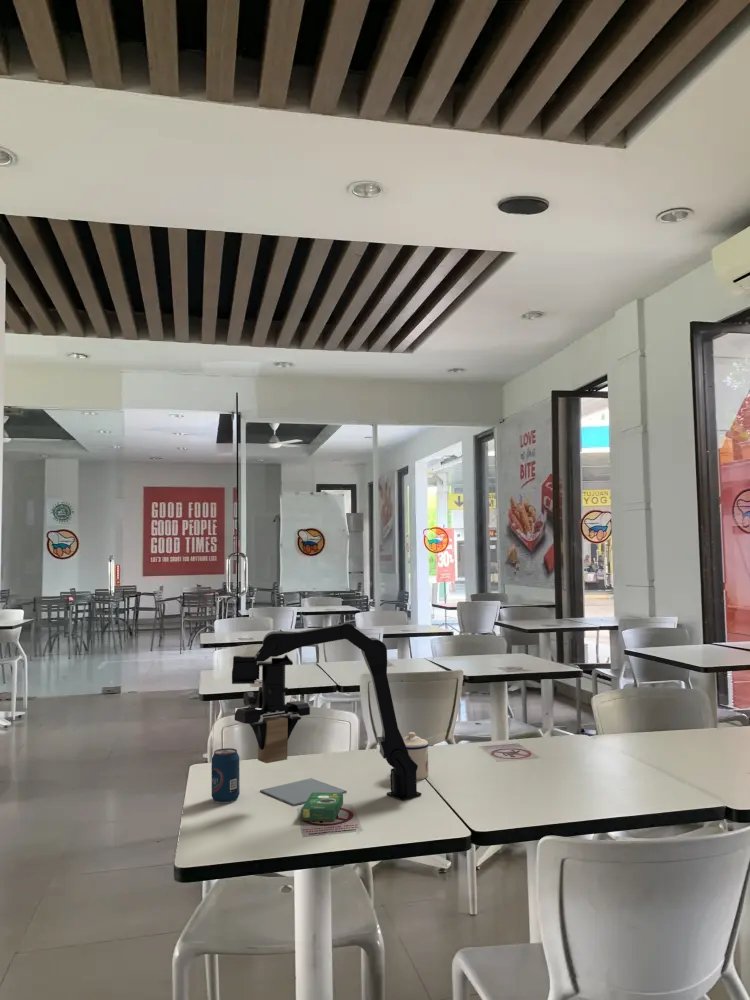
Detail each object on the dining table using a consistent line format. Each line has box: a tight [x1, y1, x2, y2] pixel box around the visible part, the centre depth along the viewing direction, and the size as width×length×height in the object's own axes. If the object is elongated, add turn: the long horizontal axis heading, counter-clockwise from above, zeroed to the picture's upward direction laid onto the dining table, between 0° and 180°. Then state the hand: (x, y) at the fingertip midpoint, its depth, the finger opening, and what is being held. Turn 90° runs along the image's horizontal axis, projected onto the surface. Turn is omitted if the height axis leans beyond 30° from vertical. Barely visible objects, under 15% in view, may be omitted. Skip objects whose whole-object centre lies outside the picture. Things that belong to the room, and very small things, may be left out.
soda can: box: [211, 747, 241, 804], centre depth 195 cm, size 7×7×12 cm
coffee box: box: [300, 793, 344, 822], centre depth 184 cm, size 8×3×13 cm
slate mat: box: [259, 777, 348, 807], centre depth 200 cm, size 16×16×1 cm
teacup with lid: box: [402, 731, 429, 781], centre depth 215 cm, size 12×9×12 cm
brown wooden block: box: [257, 715, 289, 764], centre depth 192 cm, size 4×6×10 cm, turn 129°
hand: (272, 747), depth 191 cm, fingers closed on brown wooden block, 6 cm apart
